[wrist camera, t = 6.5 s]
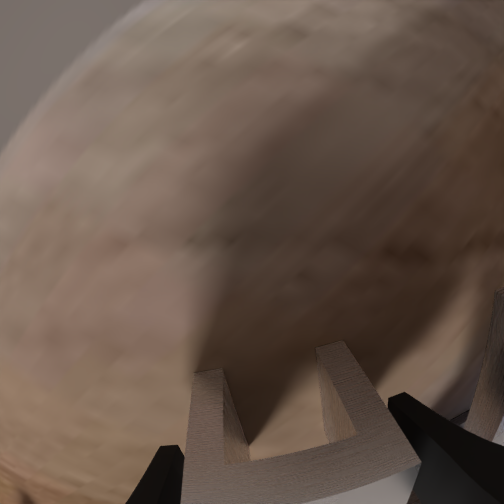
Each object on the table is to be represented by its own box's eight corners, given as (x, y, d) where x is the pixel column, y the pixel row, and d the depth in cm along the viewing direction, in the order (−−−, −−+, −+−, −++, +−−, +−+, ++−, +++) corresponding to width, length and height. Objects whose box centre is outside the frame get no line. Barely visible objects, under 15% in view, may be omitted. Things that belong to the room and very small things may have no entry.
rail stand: (499, 236, 10) (612, 280, 4) (448, 468, 14) (485, 525, 8) (371, 273, 10) (499, 375, 4) (363, 505, 14) (390, 575, 8)
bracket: (342, 340, 10) (421, 462, 5) (346, 423, 11) (395, 529, 6) (194, 372, 10) (179, 517, 5) (225, 450, 11) (231, 567, 6)
